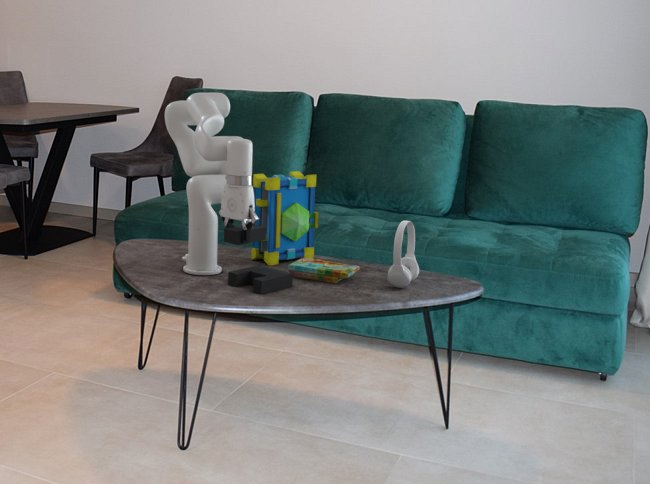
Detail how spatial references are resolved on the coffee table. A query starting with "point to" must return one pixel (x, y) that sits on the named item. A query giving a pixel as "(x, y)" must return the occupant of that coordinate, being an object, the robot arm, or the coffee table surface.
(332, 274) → the puzzle game
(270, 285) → the notch pad
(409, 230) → the headphones
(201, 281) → the coffee table surface
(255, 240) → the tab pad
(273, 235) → the blue tall framed box
